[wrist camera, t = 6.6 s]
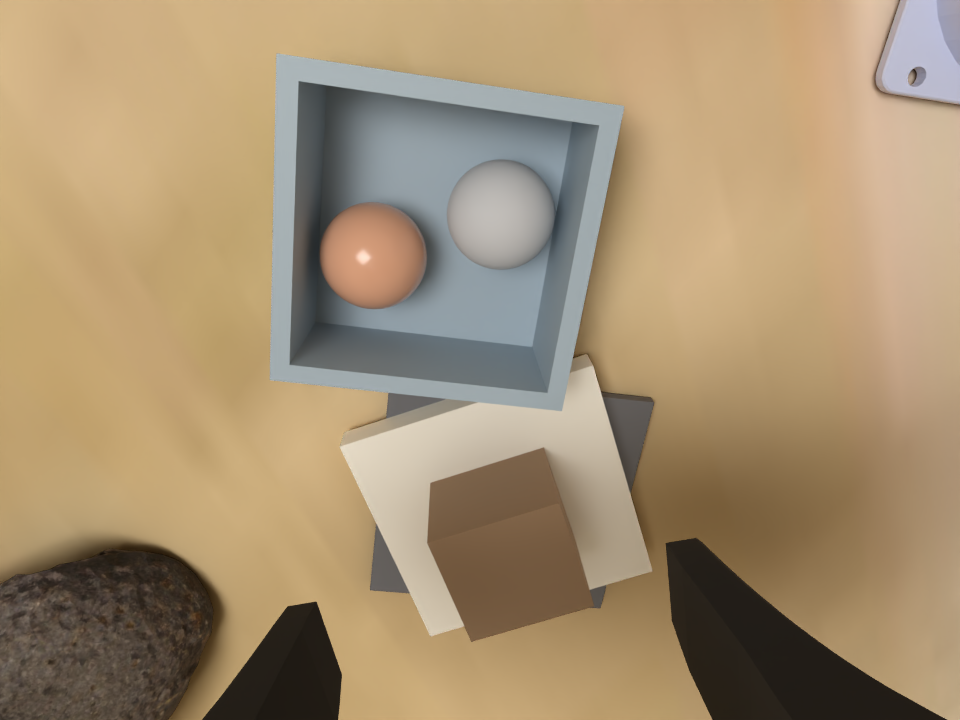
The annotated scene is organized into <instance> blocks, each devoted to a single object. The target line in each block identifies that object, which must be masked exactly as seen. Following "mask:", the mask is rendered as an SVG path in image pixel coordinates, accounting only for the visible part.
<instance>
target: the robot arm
mask: <svg viewBox="0 0 960 720" xmlns="http://www.w3.org/2000/svg"><path fill="white" fill-rule="evenodd" d="M912 69H915V70H916V72H917V78H916V80H915V82H914V83H913V84H912V85H909V83H908V75H909V73H910V71H911V70H912ZM875 80H876V84H877V87H878V88H879V89H880V90H881V91H883V92H885V93H889V94H895V95H901V96H908V97H914V98H920V99H926V100H933V101H939V102H945V103H952V104H958V105H960V0H900V3H899V6H898V9H897V12H896V15H895V18H894V21H893V24H892V27H891V30H890V33H889V36H888V39H887V42H886V45H885V48H884V51H883V54H882V57H881V60H880V63H879V66H878V69H877V72H876V79H875ZM666 552H667V564H668V577H669V589H670V602H671V614H672V622H673V625H674V628H675V631H676V634H677V637H678V640H679V643H680V646H681V649H682V651H683V654H684V657H685V660H686V663H687V665H688V668H689V671H690V673H691V675H692V677H693V679H694V681H695V684H696V686H697V688H698V690H699V692H700V694H701V696H702V698H703V701H704V703H705V705H706V707H707V709H708V711H709V713H710V715H711V717H712V720H947V719H945V718H943V717H941V716H939V715H937V714H935V713H933V712H932V711H930V710H928V709H926V708H924V707H923V706H921V705H919V704H917V703H915V702H914V701H912V700H910V699H908V698H906V697H905V696H903V695H901V694H899V693H897V692H895V691H894V690H892V689H890V688H888V687H887V686H885V685H883V684H882V683H880V682H878V681H877V680H875V679H874V678H872V677H870V676H869V675H867V674H866V673H864V672H862V671H861V670H859V669H858V668H856V667H855V666H853V665H852V664H850V663H849V662H847V661H846V660H844V659H843V658H841V657H840V656H838V655H837V654H835V653H834V652H832V651H831V650H830V649H828V648H827V647H825V646H824V645H823V644H821V643H820V642H818V641H817V640H816V639H814V638H813V637H812V636H810V635H809V634H808V633H806V632H805V631H804V630H802V629H801V628H800V627H798V626H797V625H796V624H794V623H793V622H792V621H791V620H789V619H788V618H787V617H786V616H784V615H783V614H782V613H781V612H779V611H778V610H777V609H776V608H775V607H773V606H772V605H771V604H770V603H769V602H767V601H766V600H765V599H764V598H763V597H761V596H760V595H759V594H758V593H757V592H755V591H754V590H753V589H752V588H751V587H750V586H748V585H747V584H746V583H745V582H744V581H743V580H742V579H741V578H739V577H738V576H737V575H736V574H735V573H734V572H733V571H732V570H731V569H730V568H728V567H727V566H726V565H725V564H724V563H723V562H722V561H721V560H720V559H719V558H718V557H717V556H716V555H715V554H714V553H712V552H711V551H710V550H709V549H708V548H707V547H706V546H705V545H704V544H703V543H702V542H701V541H699V540H698V539H697V538H693V539H687V540H681V541H675V542H669V543H666ZM341 679H342V674H341V671H340V668H339V665H338V662H337V659H336V657H335V654H334V651H333V648H332V645H331V642H330V639H329V636H328V634H327V631H326V628H325V625H324V622H323V619H322V616H321V613H320V610H319V608H318V605H317V602H311V603H305V604H299V605H293V606H288V607H287V608H286V609H285V611H284V612H283V613H282V615H281V616H280V617H279V619H278V620H277V621H276V623H275V624H274V625H273V627H272V628H271V629H270V631H269V632H268V634H267V635H266V636H265V638H264V639H263V641H262V642H261V643H260V645H259V646H258V647H257V649H256V650H255V652H254V653H253V654H252V656H251V657H250V658H249V660H248V661H247V663H246V664H245V665H244V667H243V668H242V669H241V671H240V672H239V673H238V675H237V676H236V677H235V679H234V680H233V681H232V683H231V684H230V685H229V687H228V688H227V689H226V690H225V692H224V693H223V694H222V696H221V697H220V698H219V700H218V701H217V702H216V703H215V705H214V706H213V707H212V708H211V709H210V711H209V712H208V713H207V714H206V716H205V717H204V718H203V719H202V720H338V714H339V705H340V692H341Z"/></svg>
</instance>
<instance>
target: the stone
mask: <svg viewBox="0 0 960 720" xmlns="http://www.w3.org/2000/svg"><path fill="white" fill-rule="evenodd" d="M212 618H213V608H212V604H211V601H210V599H209V596H208V593H207V592H206V590H205V589H204V587H203V586H202V584H201V583H200V581H199V579H198V578H197V576H196V575H195V574H194V573H193V572H192V571H190V570H189V569H188V568H186V567H185V566H184V565H183V564H181V563H180V562H179V561H177V560H175V559H172V558H170V557H167V556H164V555H162V554H153V553H148V552H142V551H125V550H116V549H108V550H105V551H103V552H101V553H99V554H97V555H95V556H93V557H92V558H89V559H85V560H80V561H76V562H71V563H66V564H61V565H58V566H56V567H54V568H52V569H50V570H46V571H42V572H38V573H34V574H30V575H18V574H17V575H15V576H14V577H12V578H11V579H9V580H7V581H5V582H3V583H1V584H0V720H168V719H169V717H170V716H171V715H172V713H173V712H174V710H175V709H176V707H177V705H178V704H179V702H180V700H181V698H182V696H183V695H184V693H185V691H186V689H187V687H188V683H189V680H190V678H191V676H192V674H193V672H194V670H195V669H196V667H197V665H198V662H199V659H200V656H201V653H202V650H203V648H204V646H205V644H206V642H207V640H208V638H209V636H210V634H211V631H212Z"/></svg>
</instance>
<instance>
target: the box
mask: <svg viewBox="0 0 960 720" xmlns="http://www.w3.org/2000/svg"><path fill="white" fill-rule="evenodd" d="M623 111H624V106H620V105H614V104H607V103H601V102H594V101H587V100H581V99H574V98H568V97H561V96H554V95H548V94H541V93H535V92H528V91H521V90H515V89H508V88H502V87H495V86H488V85H482V84H475V83H468V82H462V81H455V80H449V79H442V78H435V77H429V76H422V75H416V74H409V73H402V72H396V71H389V70H383V69H376V68H369V67H363V66H356V65H350V64H343V63H336V62H330V61H323V60H316V59H310V58H303V57H297V56H290V55H283V54H277V56H276V105H275V154H274V203H273V252H272V301H271V350H270V380H274V381H283V382H293V383H302V384H311V385H321V386H330V387H340V388H349V389H358V390H368V391H377V392H387V393H396V394H405V395H415V396H424V397H433V398H443V399H452V400H462V401H471V402H480V403H490V404H499V405H509V406H518V407H527V408H537V409H546V410H555V411H562V409H563V404H564V399H565V394H566V389H567V384H568V379H569V374H570V370H571V365H572V360H573V355H574V350H575V345H576V340H577V335H578V330H579V326H580V321H581V316H582V311H583V306H584V301H585V296H586V291H587V287H588V282H589V277H590V272H591V267H592V262H593V257H594V252H595V247H596V243H597V238H598V233H599V228H600V223H601V218H602V213H603V208H604V204H605V199H606V194H607V189H608V184H609V179H610V174H611V169H612V164H613V160H614V155H615V150H616V145H617V140H618V135H619V130H620V125H621V121H622V116H623ZM498 159H504V160H512V161H516V162H519V163H522V164H524V165H526V166H528V167H530V168H531V169H532V170H534V171H535V172H536V173H537V174H538V175H539V176H540V177H541V178H542V179H543V180H544V182H545V183H546V185H547V187H548V188H549V191H550V193H551V195H552V198H553V202H554V208H555V219H554V226H553V230H552V233H551V235H550V238H549V240H548V242H547V244H546V245H545V247H544V248H543V249H542V250H541V252H540V253H539V254H538V255H537V256H536V257H534V258H533V259H532V260H530V261H529V262H527V263H525V264H523V265H521V266H519V267H516V268H512V269H505V270H496V269H490V268H486V267H483V266H480V265H478V264H476V263H474V262H472V261H471V260H469V259H468V258H467V257H466V256H465V255H463V254H462V252H461V251H460V250H459V249H458V248H457V246H456V245H455V243H454V241H453V239H452V237H451V234H450V231H449V228H448V223H447V207H448V202H449V198H450V195H451V193H452V191H453V189H454V187H455V185H456V184H457V182H458V181H459V180H460V178H461V177H462V176H463V175H464V174H465V173H466V172H467V171H469V170H470V169H472V168H473V167H475V166H477V165H478V164H480V163H483V162H486V161H490V160H498ZM364 202H380V203H385V204H388V205H391V206H394V207H396V208H398V209H400V210H401V211H403V212H404V213H405V214H407V215H408V216H409V217H410V218H411V219H412V220H413V221H414V222H415V224H416V225H417V226H418V228H419V229H420V231H421V233H422V235H423V238H424V241H425V245H426V251H427V264H426V270H425V273H424V276H423V278H422V280H421V282H420V284H419V286H418V287H417V289H416V290H415V291H414V292H413V293H412V294H411V295H410V296H409V297H408V298H407V299H405V300H404V301H402V302H401V303H399V304H397V305H395V306H392V307H389V308H384V309H366V308H361V307H358V306H355V305H352V304H350V303H348V302H347V301H345V300H343V299H342V298H341V297H340V296H338V295H337V294H336V293H335V292H334V291H333V290H332V288H331V287H330V286H329V284H328V283H327V281H326V279H325V277H324V275H323V272H322V269H321V265H320V244H321V240H322V237H323V234H324V232H325V230H326V228H327V226H328V225H329V223H330V222H331V221H332V220H333V218H334V217H335V216H337V215H338V214H339V213H340V212H342V211H343V210H345V209H347V208H348V207H350V206H353V205H356V204H359V203H364Z"/></svg>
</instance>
